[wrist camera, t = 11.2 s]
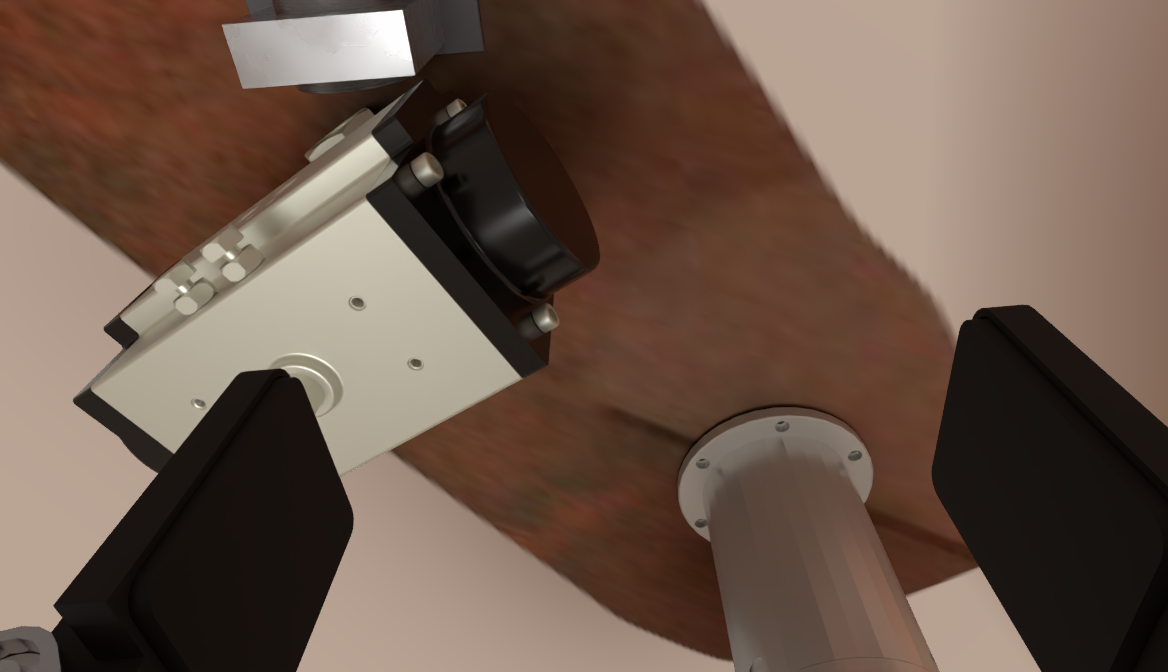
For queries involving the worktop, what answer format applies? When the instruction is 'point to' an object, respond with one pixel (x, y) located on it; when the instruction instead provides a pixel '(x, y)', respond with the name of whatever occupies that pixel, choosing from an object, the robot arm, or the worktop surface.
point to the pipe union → (335, 43)
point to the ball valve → (364, 283)
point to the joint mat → (456, 20)
